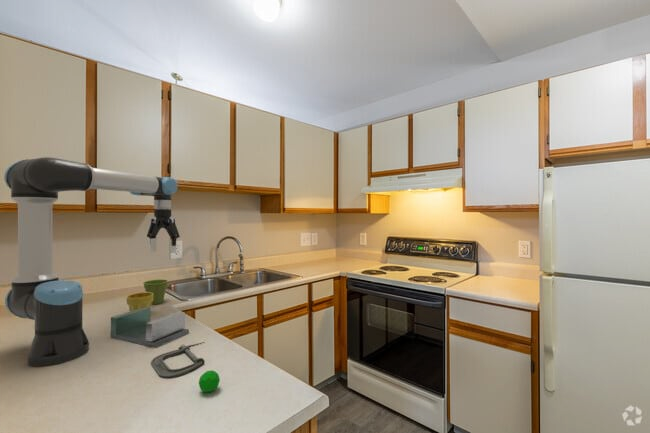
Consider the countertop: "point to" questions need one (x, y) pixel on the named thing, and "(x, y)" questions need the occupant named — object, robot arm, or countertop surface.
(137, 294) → the plant pot
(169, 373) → the c clamp
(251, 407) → the countertop surface
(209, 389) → the polyhedron
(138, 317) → the vise base
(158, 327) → the steel jaw
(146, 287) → the plant pot
